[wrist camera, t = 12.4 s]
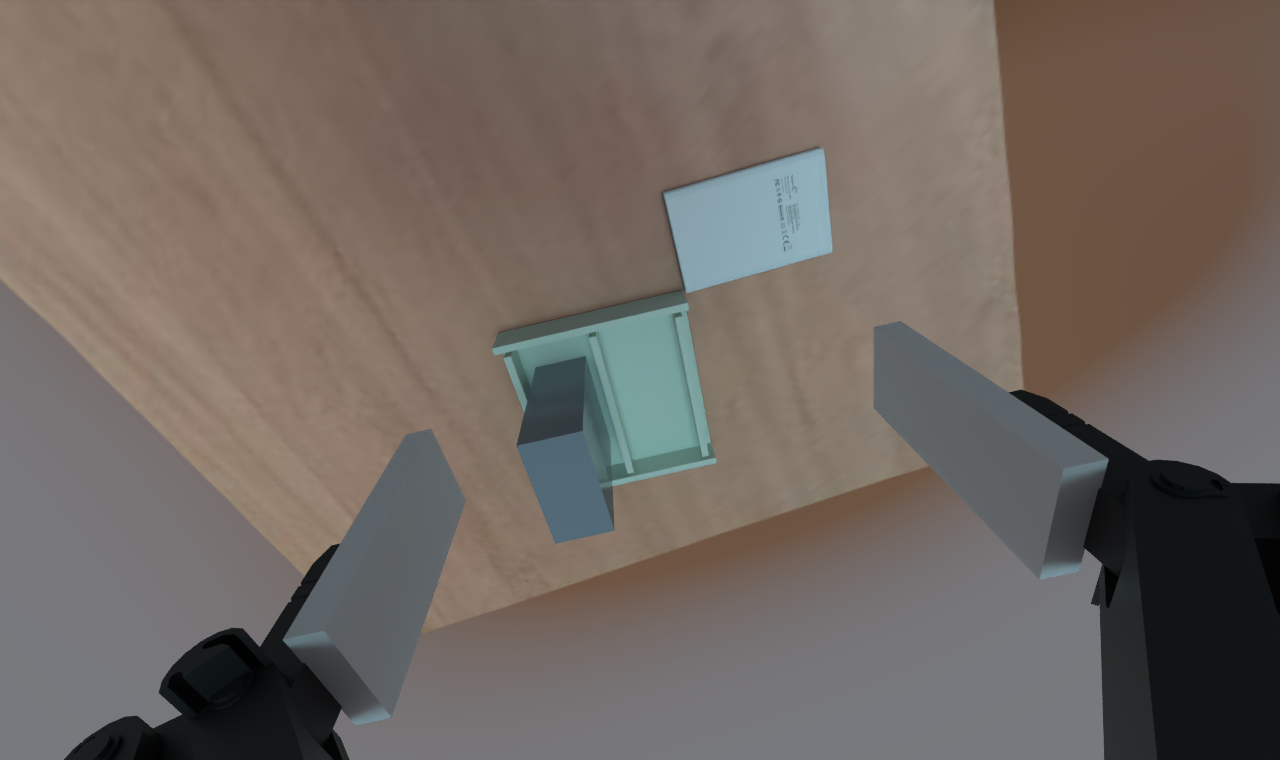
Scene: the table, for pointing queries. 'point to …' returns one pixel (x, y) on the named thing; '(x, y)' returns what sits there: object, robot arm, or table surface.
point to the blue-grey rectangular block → (568, 451)
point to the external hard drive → (750, 220)
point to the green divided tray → (627, 380)
